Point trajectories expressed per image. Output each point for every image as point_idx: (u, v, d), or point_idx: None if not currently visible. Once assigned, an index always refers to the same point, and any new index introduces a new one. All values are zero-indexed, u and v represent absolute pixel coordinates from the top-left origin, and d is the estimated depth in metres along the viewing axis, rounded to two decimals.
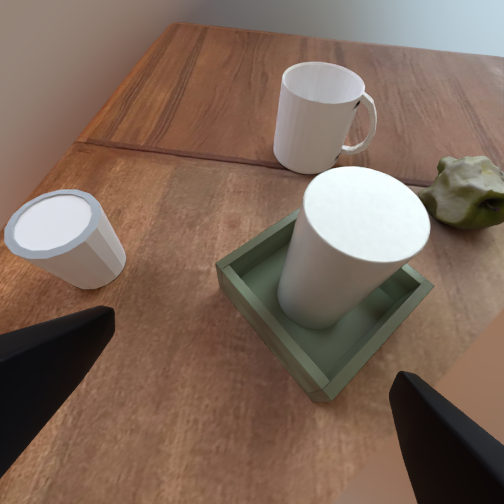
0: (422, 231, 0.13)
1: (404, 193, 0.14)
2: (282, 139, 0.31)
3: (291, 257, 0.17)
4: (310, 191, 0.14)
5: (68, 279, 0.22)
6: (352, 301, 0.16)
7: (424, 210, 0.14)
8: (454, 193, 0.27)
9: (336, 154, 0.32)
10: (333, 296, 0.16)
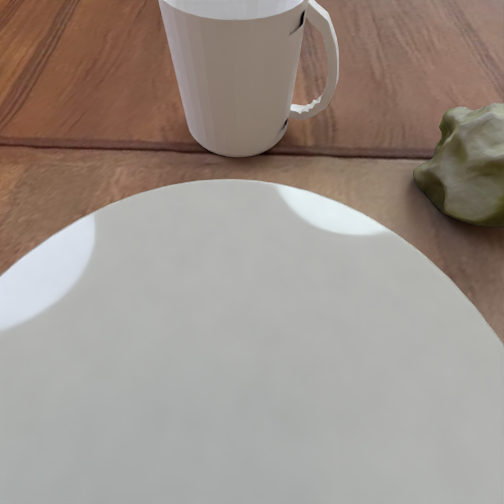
0: None
1: (416, 298, 0.03)
2: (187, 102, 0.19)
3: None
4: None
5: None
6: None
7: None
8: (475, 171, 0.16)
9: (281, 120, 0.20)
10: None
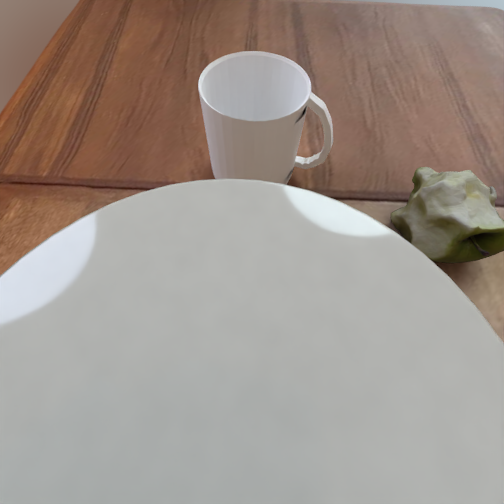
0: None
1: (417, 298, 0.03)
2: (215, 160, 0.24)
3: None
4: None
5: None
6: None
7: None
8: (432, 223, 0.21)
9: (287, 172, 0.25)
10: None
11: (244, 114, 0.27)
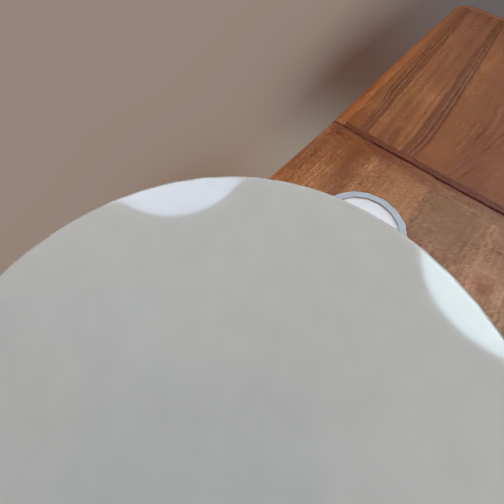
0: None
1: (419, 294, 0.03)
2: None
3: None
4: None
5: None
6: None
7: None
8: None
9: None
10: None
11: None
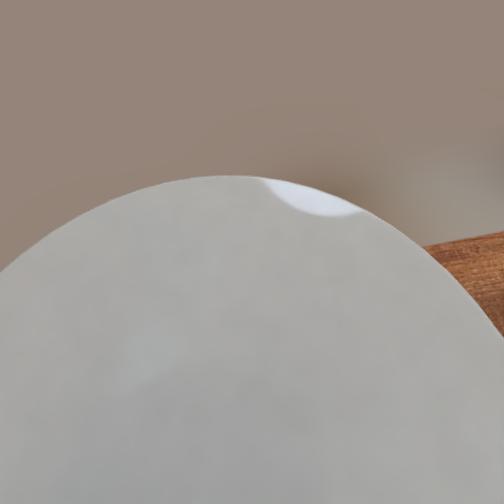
0: None
1: (417, 293, 0.03)
2: None
3: None
4: None
5: None
6: None
7: None
8: None
9: None
10: None
11: None
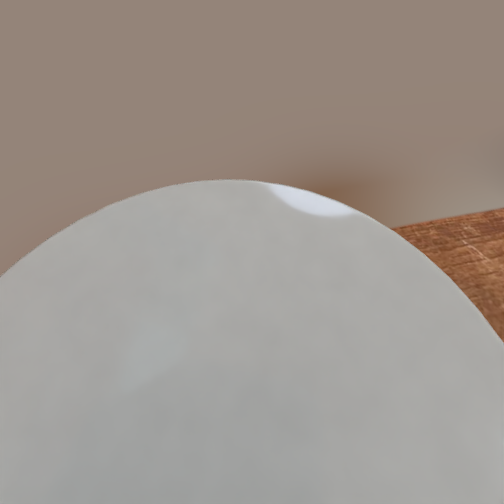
0: None
1: (417, 298, 0.03)
2: None
3: None
4: None
5: None
6: None
7: None
8: None
9: None
10: None
11: None
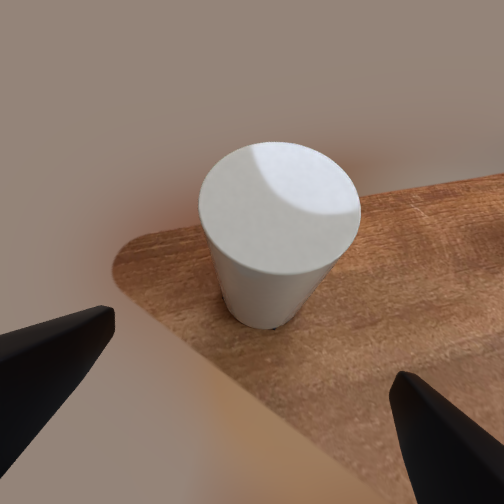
0: (349, 222, 0.10)
1: (330, 172, 0.11)
2: None
3: None
4: (209, 182, 0.11)
5: None
6: (288, 306, 0.14)
7: (354, 192, 0.11)
8: None
9: None
10: (263, 305, 0.13)
11: None
